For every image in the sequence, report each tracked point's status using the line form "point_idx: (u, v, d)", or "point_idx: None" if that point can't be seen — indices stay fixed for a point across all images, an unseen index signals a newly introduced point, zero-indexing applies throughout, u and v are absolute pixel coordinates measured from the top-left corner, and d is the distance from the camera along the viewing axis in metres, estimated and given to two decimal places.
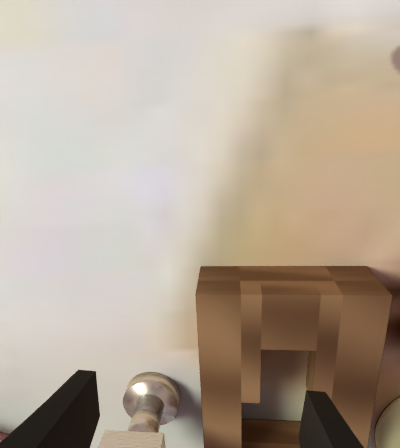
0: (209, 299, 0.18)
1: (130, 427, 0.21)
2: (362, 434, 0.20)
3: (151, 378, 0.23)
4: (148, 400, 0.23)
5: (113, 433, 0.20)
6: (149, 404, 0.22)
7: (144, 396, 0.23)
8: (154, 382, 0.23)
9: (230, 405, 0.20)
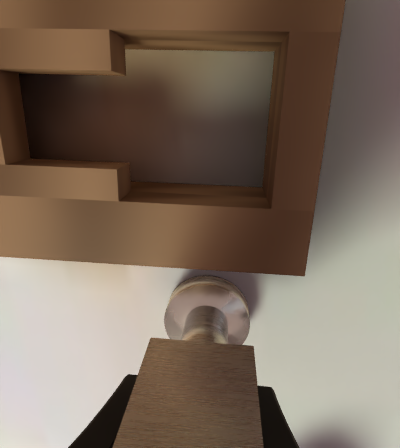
0: None
1: None
2: None
3: None
4: (183, 327, 0.15)
5: None
6: (183, 329, 0.15)
7: None
8: None
9: (126, 220, 0.12)
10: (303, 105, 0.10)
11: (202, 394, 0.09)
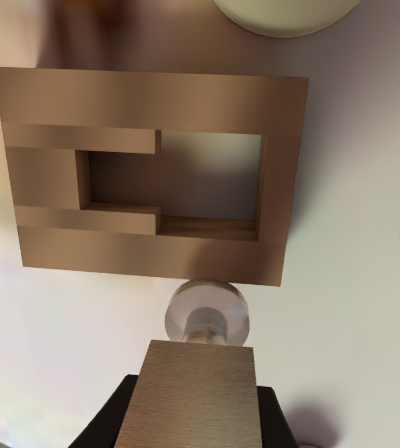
0: (27, 254, 0.18)
1: None
2: (203, 83, 0.14)
3: None
4: (184, 329, 0.15)
5: None
6: (183, 330, 0.15)
7: None
8: None
9: (160, 247, 0.17)
10: (277, 178, 0.15)
11: (202, 395, 0.09)
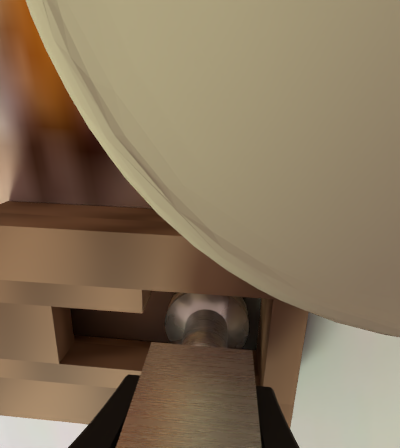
0: (2, 403, 0.16)
1: None
2: None
3: None
4: (183, 331, 0.15)
5: None
6: (183, 333, 0.15)
7: None
8: None
9: None
10: (283, 341, 0.13)
11: (202, 398, 0.10)
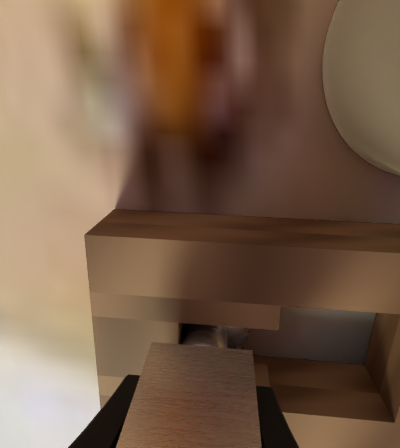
0: None
1: None
2: (350, 260, 0.12)
3: None
4: (184, 331, 0.15)
5: None
6: (183, 333, 0.15)
7: None
8: None
9: None
10: None
11: (202, 398, 0.10)
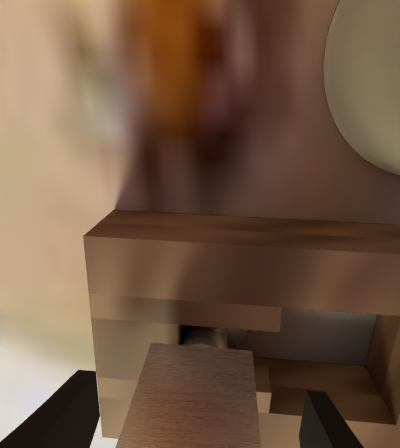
0: (108, 425, 0.15)
1: None
2: (351, 262, 0.11)
3: None
4: (183, 331, 0.15)
5: None
6: (183, 333, 0.15)
7: None
8: None
9: (273, 425, 0.14)
10: None
11: (202, 399, 0.10)
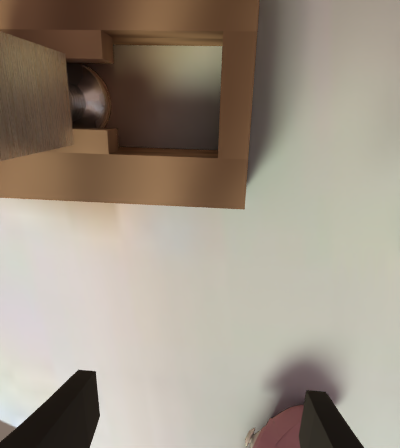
0: None
1: None
2: None
3: None
4: None
5: None
6: None
7: None
8: None
9: (114, 168, 0.16)
10: (235, 82, 0.14)
11: None
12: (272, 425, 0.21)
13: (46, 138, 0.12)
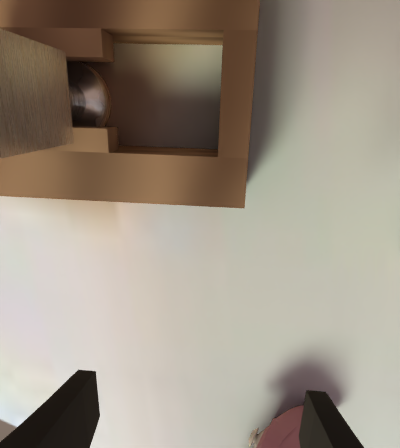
0: None
1: None
2: None
3: None
4: None
5: None
6: None
7: None
8: None
9: (114, 166, 0.16)
10: (235, 81, 0.14)
11: None
12: (275, 425, 0.21)
13: (46, 136, 0.12)
